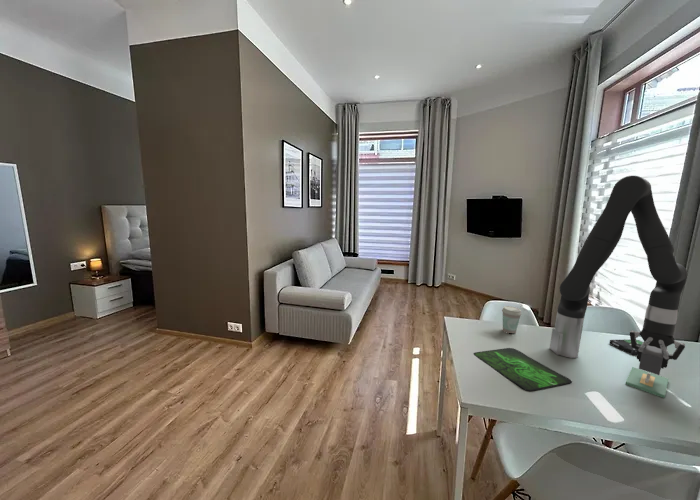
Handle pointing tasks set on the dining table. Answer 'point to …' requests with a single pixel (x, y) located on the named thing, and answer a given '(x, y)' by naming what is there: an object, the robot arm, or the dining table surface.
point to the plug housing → (651, 359)
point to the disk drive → (625, 345)
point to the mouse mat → (522, 369)
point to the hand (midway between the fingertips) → (651, 364)
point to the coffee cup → (510, 318)
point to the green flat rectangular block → (647, 382)
